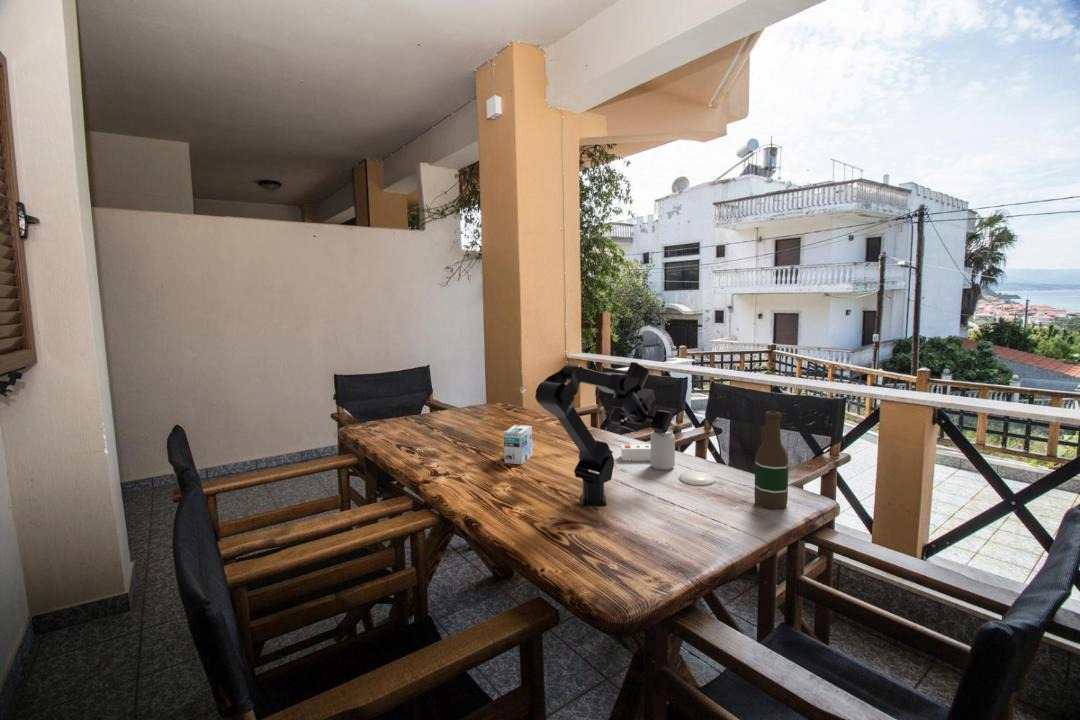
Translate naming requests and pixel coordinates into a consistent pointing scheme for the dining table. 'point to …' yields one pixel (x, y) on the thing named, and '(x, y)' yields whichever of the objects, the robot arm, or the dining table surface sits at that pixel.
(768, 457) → the beer bottle
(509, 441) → the light bulb box
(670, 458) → the can
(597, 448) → the robot arm
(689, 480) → the coaster
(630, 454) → the power strip
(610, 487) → the dining table surface
